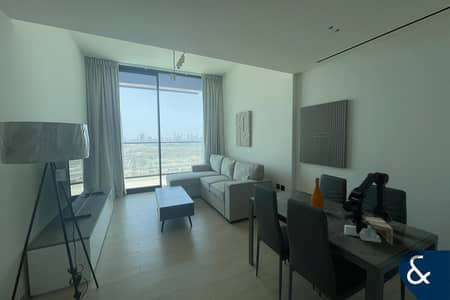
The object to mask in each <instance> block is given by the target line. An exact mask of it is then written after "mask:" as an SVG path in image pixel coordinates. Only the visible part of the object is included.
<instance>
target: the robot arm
mask: <svg viewBox="0 0 450 300" xmlns="http://www.w3.org/2000/svg"><path fill="white" fill-rule="evenodd" d="M364 178H365V179H363V181H362V182H360V185H359V186H357V187H354V188H353V189H352V190H351V191H350V193H349V194H348V197H347V199H346V201H345V202H344V203H343V204H342V209H343V210H344V211H345V212H342V213H341V214H342V218H343V219H344V221H348V220H350V222H352V226H356V232H357V234H359V233H360V232H361V230H362V229H365V228H366V229H367V228H368V225H367V224H366V223H365V218H364V216H363V215H365V213H364V203H366V201H365V199H366V198H367V196H368V194H367V192H368V190H369V189H370V188H371V186H372V185H373V184H375V186H376V189H375V190H376V191H375V192H376V196H375V197H376V205H375V206H374V207H373V208H372V210H373V211H372V213H373V217H374V218H381V219H382V220H384V221H385V222H386V223H387V224H388V225H389V222H392V220H393V217H392V216H391V214H390V211H389V208H388V207H387V206H386V185H388V183H389V180H390V176H389V174H388V173H384V172H377V171H376V172H374V173H373V172H369V173H368V174H367V176H366V177H364Z"/></svg>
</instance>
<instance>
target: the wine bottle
mask: <svg viewBox="0 0 450 300" xmlns="http://www.w3.org/2000/svg"><path fill="white" fill-rule="evenodd" d="M314 182H315V187H314V188H313V190H312V194H311V197H310V206H311V205H312V206H314V207H317V208H320V209H322V210H323V211H324V196H323V193H322V192H321V188H320V177H315V179H314Z"/></svg>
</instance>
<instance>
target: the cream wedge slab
mask: <svg viewBox="0 0 450 300" xmlns="http://www.w3.org/2000/svg"><path fill="white" fill-rule="evenodd" d="M364 222H365V223H366V224H367V225H369V226H372V230H375V231H376V234H377V233H378V234H380V236H382V237H383V238H384V239H385V241H386V242H387V243H388V244H389V245H390V246H393V240H394V239H393V238H394V234H393V233H394V228H393V227H391V226H390V225H389V223H388V224H387V223H386V222H385V221H384V220H382V219H381V218H375V217H374V216H364ZM364 229H366V228H364Z"/></svg>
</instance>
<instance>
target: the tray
mask: <svg viewBox="0 0 450 300" xmlns="http://www.w3.org/2000/svg"><path fill="white" fill-rule="evenodd" d="M343 230H344V235H346V236H347V235H348V236H355V237H359V238H360V239H361V240H362V241H367V242H372V243H373V242H375V243H382V238H381V237H380V236H379V235H378V234H377V233H376V231H375V230H372V226H369V225H368V228H367V229H365V228H363V229H362V230H361V232H360V233H359V234H357V232H356V226H354V225H350V224H344V229H343Z"/></svg>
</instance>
